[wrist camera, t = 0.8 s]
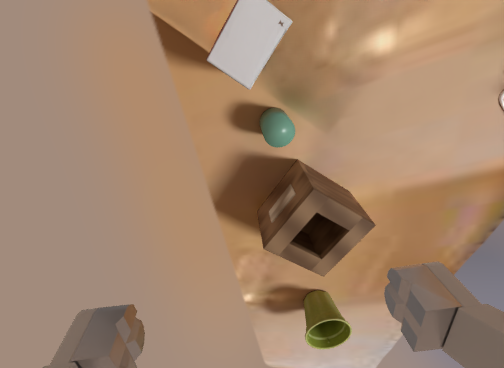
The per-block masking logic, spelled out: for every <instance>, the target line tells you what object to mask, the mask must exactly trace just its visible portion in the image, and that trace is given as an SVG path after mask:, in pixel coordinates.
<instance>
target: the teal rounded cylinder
mask: <svg viewBox="0 0 504 368" xmlns="http://www.w3.org/2000/svg"><path fill="white" fill-rule="evenodd" d="M260 128H261V130H262V133H263V136H264V138H265V140H266V142H267V143H268V144H269V145H271V146H273V147H283V146H286V145H287V144H289V143H290V142H291V141H292V139H293V137H294V135H295V127H294V124H293V123H292V121H291V120H290V119H289V117H288V116H287V115H286V113H285V112H284V111H283V110H281V109H279V108H270V109H268V110H266V111H265V112H264V113H263V114H262V116H261V118H260Z"/></svg>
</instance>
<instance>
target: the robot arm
mask: <svg viewBox="0 0 504 368" xmlns="http://www.w3.org/2000/svg"><path fill="white" fill-rule="evenodd" d="M387 278H388V279H389V281H390V283H389V284H388V285H387V286H386V287H385V293H384V295H385V301H386V304H387V307H388V309H389V311H390V313H391V315H392V316H393V318H395V319H396V320H398V321H399V322H401V323H402V326H401V332H402V333H403V335H404V336H405V338H406V340H407V342H408V343H409V345H410V346H411V348H412V349H413V351H414V352H417V351H425V350H433V349H443V351H444V352H445V353H447V354H448V355H449V356H451V357H452V358H453V359H454V360H455V361H457V362H458V363H459V364H461V365H462V366H463V367H465V368H504V312H502V311H500V310H498V309H496V308H494V307H492V306H490V305H488V304H481V303H480V302H479V301H478V300H477V299H476V298H475V297H474V296H473V295H472V294H471V293H470V292H469V291H468V290H467V289H466V287H464V286H463V284H462V283H461V282H460V281H459V280H458V279H457V278H456V277H455V276H454V275H453V274H452V273H451V272H450V271H449V270H448V269H447V268H446V267H445V266H444V265H443V264H442V263H440V262H432V263H424V264H416V265H409V266H402V267H396V268H391V269H390V270H389V271H388V275H387ZM136 313H137V310H136V309H135V307H134V305H121V306H112V307H103V308H95V309H87V310H82V311H81V312H79V313H78V314H77V316H76V318H75V319H74V321H73V323H72V325H71V327H70V328H69V330H68V332H67V334H66V336H65V338H64V340H63V341H62V343H61V345H60V347H59V349H58V351H57V352H56V354H55V356H54V358H53V360H52V362H51V363H50V365H49V366H44V367H43V368H137V366H136V364H135V360H136V359H137V357H138V356H139V355H140V354H141V353H142V349H143V345H144V334H145V332H144V326H143V324H142V321H141V320H139V319H137V318H136V317H135V316H136Z"/></svg>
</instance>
